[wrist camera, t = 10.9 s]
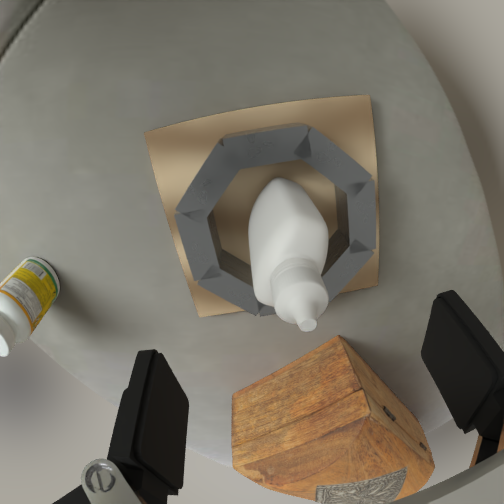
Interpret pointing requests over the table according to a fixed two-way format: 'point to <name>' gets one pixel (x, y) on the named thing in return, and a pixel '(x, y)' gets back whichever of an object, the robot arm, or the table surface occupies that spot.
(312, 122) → the square wooden board
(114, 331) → the table surface
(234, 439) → the wooden box
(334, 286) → the gray octagonal ring
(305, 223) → the eye dropper bottle
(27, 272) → the supplement bottle
